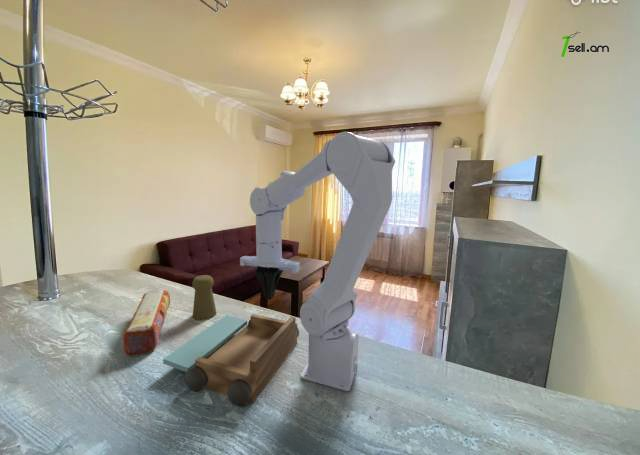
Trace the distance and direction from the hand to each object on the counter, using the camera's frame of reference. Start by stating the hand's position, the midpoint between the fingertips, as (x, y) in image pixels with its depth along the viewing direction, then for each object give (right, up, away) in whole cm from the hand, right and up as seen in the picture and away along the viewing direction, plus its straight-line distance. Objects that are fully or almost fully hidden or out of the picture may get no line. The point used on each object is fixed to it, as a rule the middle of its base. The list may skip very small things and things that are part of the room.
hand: (269, 297), depth 62 cm
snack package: (-29, -9, +2) cm, 31 cm away
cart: (-2, -11, -8) cm, 14 cm away
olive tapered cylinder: (-20, -8, +10) cm, 23 cm away
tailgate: (-9, -8, -7) cm, 14 cm away
